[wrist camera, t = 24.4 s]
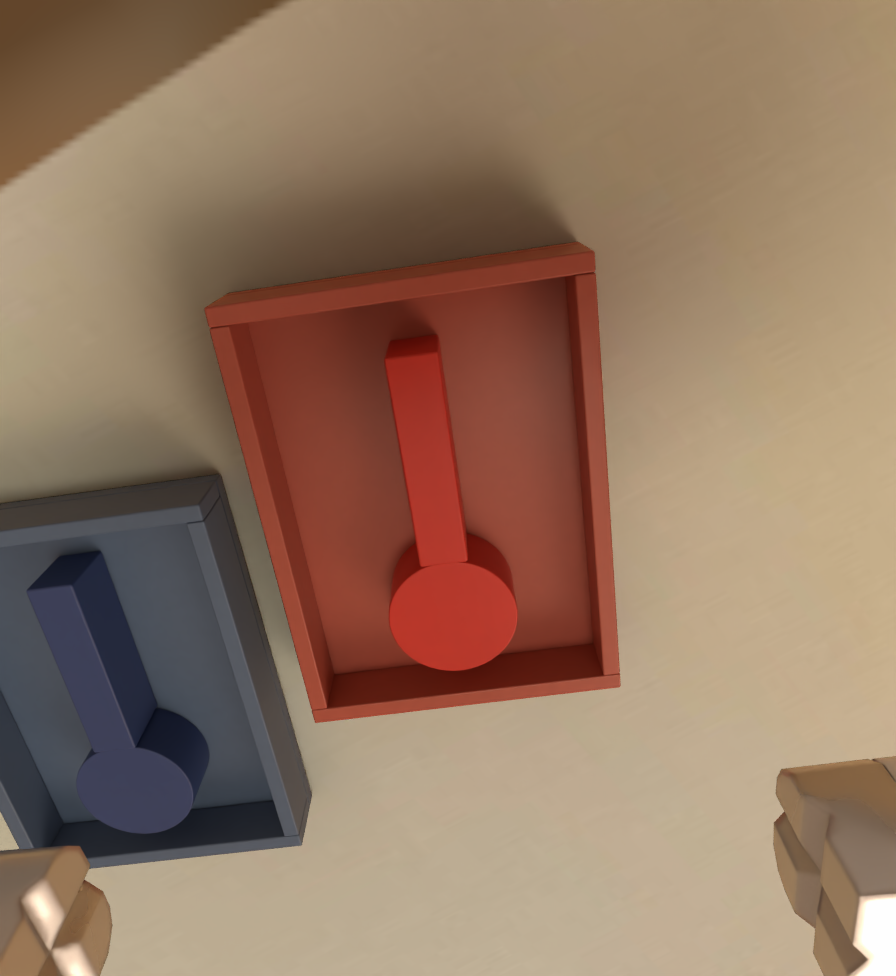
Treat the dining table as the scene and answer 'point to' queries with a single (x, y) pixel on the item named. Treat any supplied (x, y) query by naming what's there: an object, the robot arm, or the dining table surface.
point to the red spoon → (440, 530)
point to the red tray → (380, 479)
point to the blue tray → (148, 673)
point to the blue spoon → (116, 703)
